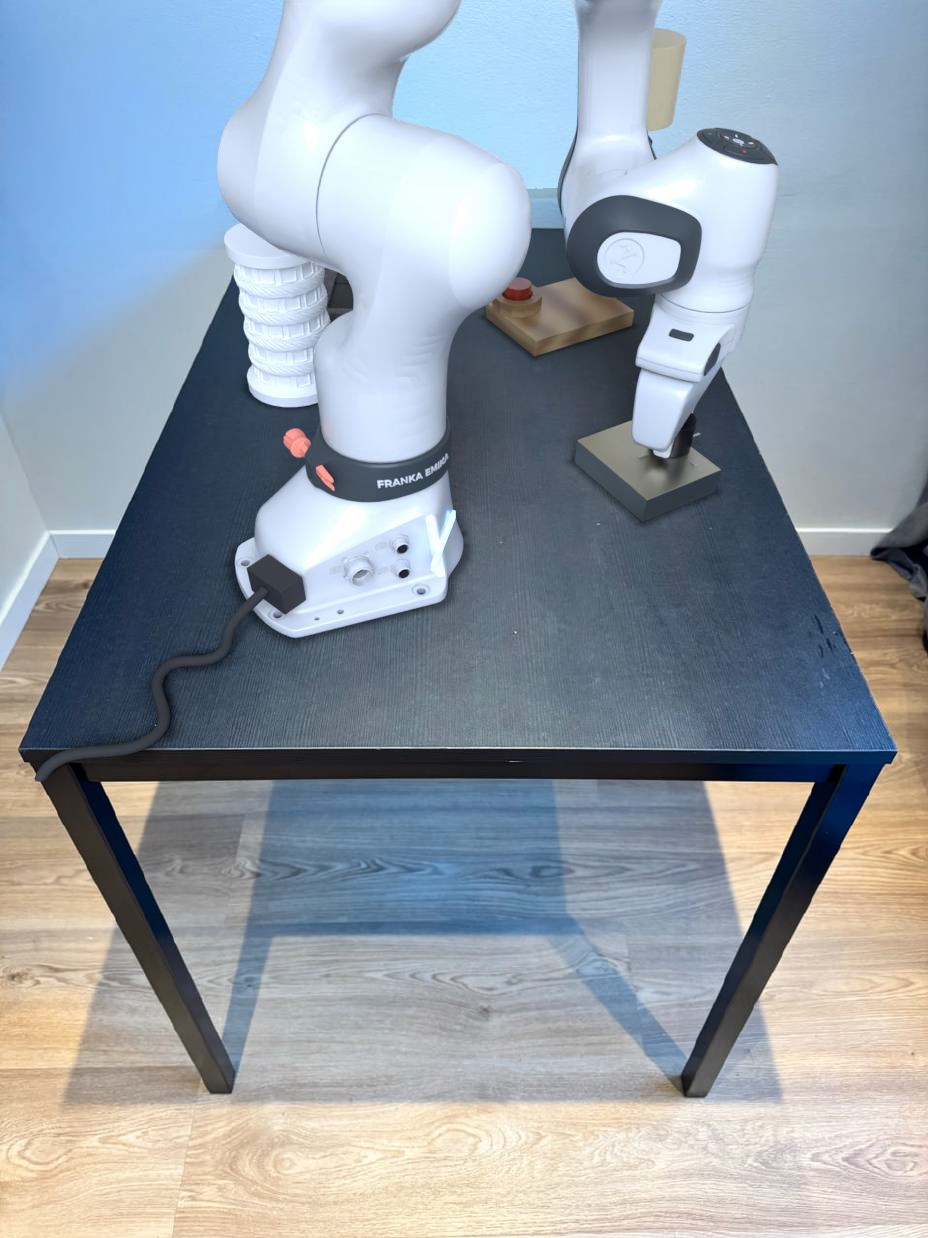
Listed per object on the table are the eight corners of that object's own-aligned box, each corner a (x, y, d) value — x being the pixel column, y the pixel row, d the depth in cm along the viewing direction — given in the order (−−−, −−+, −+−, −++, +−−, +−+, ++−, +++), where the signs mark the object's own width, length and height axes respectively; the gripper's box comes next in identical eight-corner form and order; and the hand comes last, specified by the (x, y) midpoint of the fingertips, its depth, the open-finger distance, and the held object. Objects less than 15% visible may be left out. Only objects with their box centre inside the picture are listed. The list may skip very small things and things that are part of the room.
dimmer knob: (684, 462, 93) (691, 431, 90) (644, 451, 94) (649, 421, 91) (694, 440, 96) (701, 410, 93) (655, 430, 97) (661, 400, 94)
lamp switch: (513, 304, 115) (513, 292, 114) (498, 293, 117) (498, 280, 116) (535, 298, 117) (536, 285, 115) (520, 287, 119) (521, 274, 117)
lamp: (602, 319, 112) (638, 52, 91) (561, 291, 117) (586, 32, 96) (657, 302, 115) (704, 41, 94) (615, 275, 120) (650, 22, 99)
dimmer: (642, 522, 91) (647, 498, 88) (574, 462, 98) (577, 438, 95) (731, 485, 95) (738, 461, 93) (659, 430, 102) (664, 406, 100)
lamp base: (533, 357, 113) (535, 328, 110) (482, 316, 120) (483, 288, 117) (632, 325, 119) (636, 297, 116) (578, 289, 126) (581, 262, 123)
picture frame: (432, 326, 118) (439, 259, 132) (432, 312, 116) (439, 246, 131) (313, 323, 118) (333, 257, 132) (311, 309, 116) (332, 244, 131)
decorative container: (331, 410, 104) (313, 261, 91) (236, 403, 105) (205, 255, 92) (351, 360, 112) (338, 216, 99) (263, 353, 113) (238, 210, 100)
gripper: (700, 268, 91) (675, 385, 102) (630, 358, 79) (609, 481, 89) (759, 282, 89) (728, 400, 100) (697, 376, 77) (668, 500, 87)
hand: (671, 439), depth 94 cm, fingers closed on dimmer knob, 4 cm apart
